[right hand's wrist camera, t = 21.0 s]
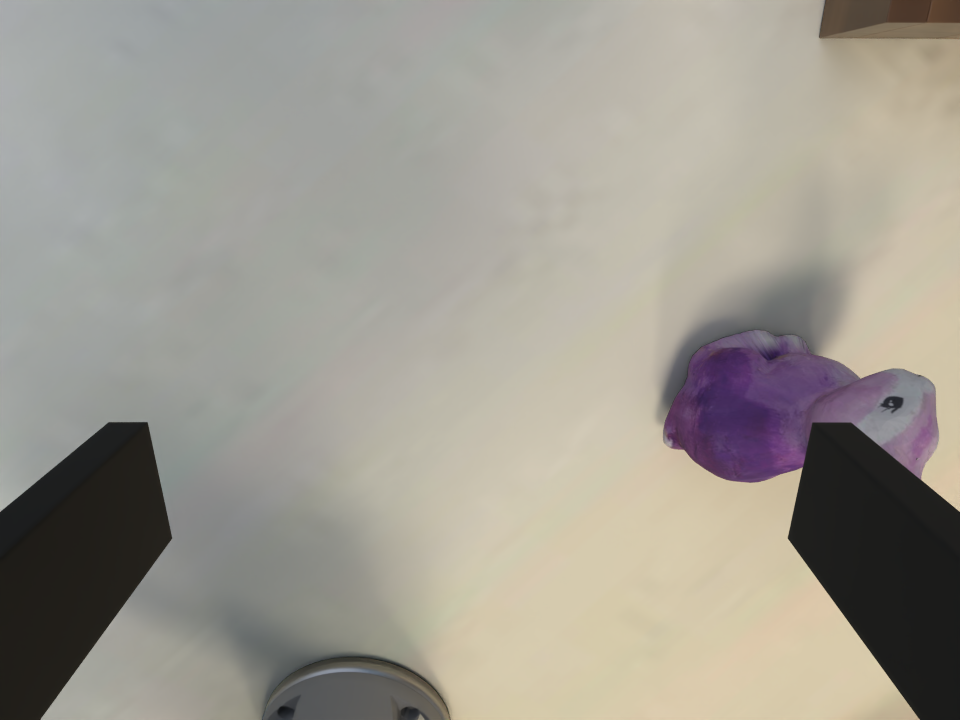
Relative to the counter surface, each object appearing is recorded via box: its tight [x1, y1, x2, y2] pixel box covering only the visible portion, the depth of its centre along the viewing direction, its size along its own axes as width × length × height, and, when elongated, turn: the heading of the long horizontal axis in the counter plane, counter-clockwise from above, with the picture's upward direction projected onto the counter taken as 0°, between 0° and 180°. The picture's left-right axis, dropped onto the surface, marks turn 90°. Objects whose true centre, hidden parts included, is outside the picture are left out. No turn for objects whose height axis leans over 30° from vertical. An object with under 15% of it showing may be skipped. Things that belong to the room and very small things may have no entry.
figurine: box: [663, 330, 939, 483], centre depth 34 cm, size 9×10×15 cm
